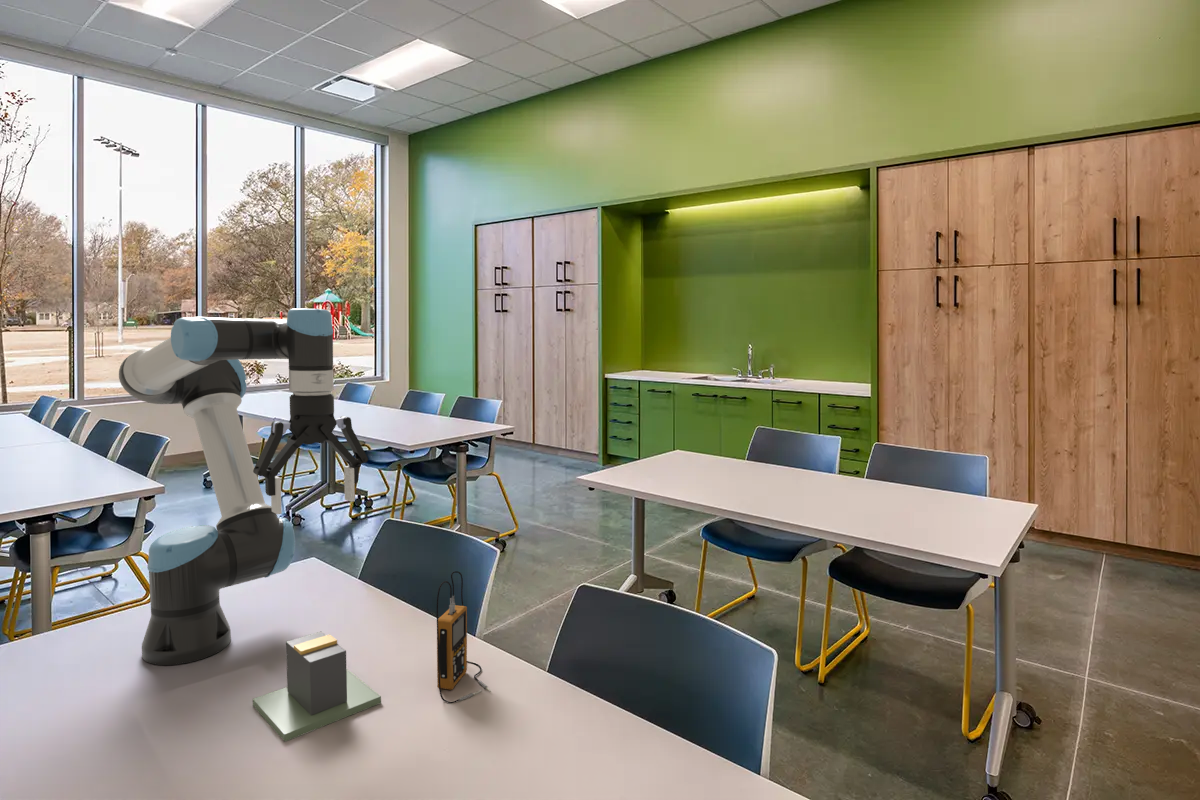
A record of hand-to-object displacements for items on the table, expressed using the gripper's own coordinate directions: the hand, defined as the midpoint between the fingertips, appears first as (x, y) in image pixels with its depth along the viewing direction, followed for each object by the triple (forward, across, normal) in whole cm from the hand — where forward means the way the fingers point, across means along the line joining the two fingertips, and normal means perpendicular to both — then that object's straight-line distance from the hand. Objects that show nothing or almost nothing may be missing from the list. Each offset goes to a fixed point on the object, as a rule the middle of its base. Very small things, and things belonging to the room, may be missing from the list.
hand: (314, 506), depth 126 cm
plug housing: (+29, -6, -14) cm, 33 cm away
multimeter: (+31, +17, -26) cm, 44 cm away
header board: (+31, -6, -14) cm, 34 cm away
